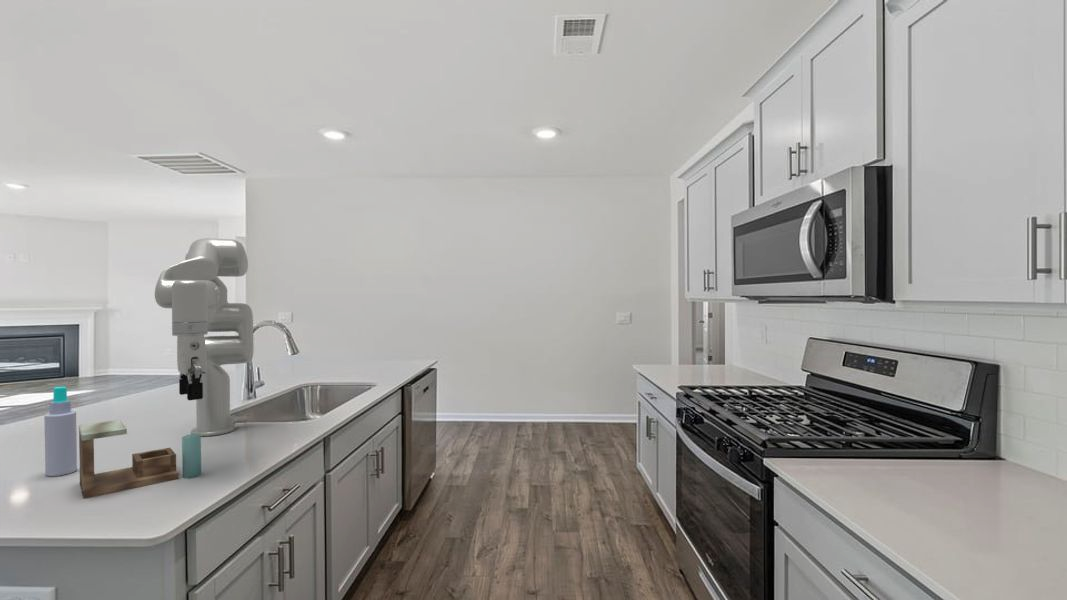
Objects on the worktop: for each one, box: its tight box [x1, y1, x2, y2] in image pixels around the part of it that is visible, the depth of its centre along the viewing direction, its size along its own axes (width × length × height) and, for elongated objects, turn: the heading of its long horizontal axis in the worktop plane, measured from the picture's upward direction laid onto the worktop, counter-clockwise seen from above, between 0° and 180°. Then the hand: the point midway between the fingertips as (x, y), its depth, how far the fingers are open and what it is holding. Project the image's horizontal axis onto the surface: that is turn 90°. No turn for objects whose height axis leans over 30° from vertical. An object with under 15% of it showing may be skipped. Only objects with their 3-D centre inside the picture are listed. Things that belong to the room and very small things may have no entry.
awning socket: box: [78, 419, 179, 499], centre depth 129 cm, size 18×13×14 cm
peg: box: [181, 433, 202, 479], centre depth 133 cm, size 4×4×10 cm
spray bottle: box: [44, 386, 78, 477], centre depth 134 cm, size 6×6×22 cm
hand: (190, 396), depth 132 cm, fingers open, 9 cm apart
